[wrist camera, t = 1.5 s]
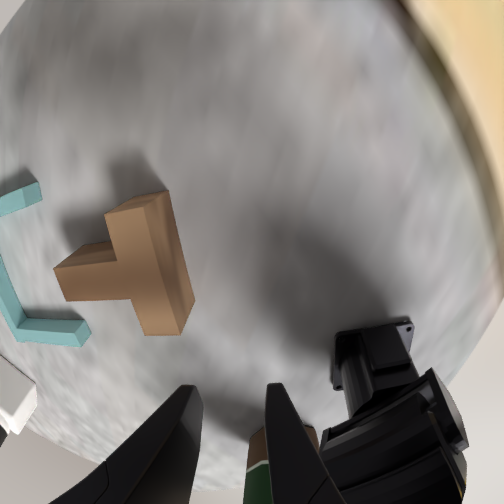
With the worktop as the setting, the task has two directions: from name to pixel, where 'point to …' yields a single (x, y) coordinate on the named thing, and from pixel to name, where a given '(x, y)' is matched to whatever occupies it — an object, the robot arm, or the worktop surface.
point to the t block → (135, 266)
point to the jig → (6, 300)
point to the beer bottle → (263, 469)
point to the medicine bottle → (14, 399)
